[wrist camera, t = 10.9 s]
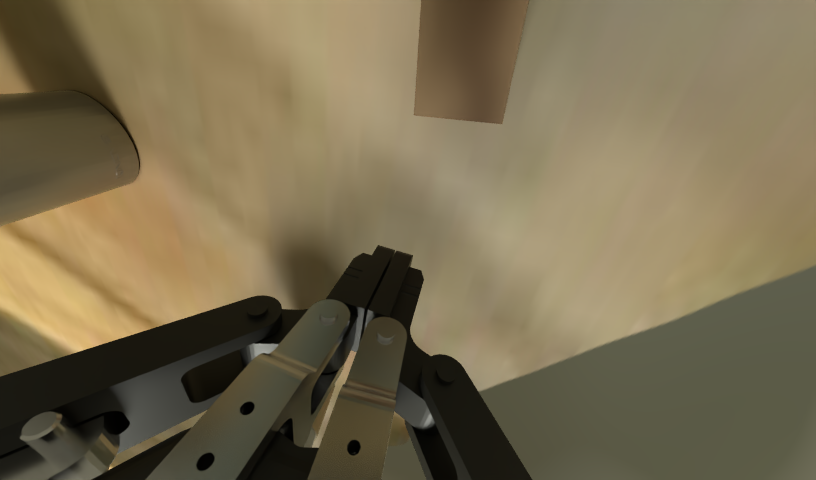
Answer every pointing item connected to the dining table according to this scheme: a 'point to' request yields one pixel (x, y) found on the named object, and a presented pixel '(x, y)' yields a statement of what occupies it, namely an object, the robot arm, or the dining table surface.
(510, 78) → the block
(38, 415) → the robot arm
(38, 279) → the dining table surface
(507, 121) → the dining table surface
